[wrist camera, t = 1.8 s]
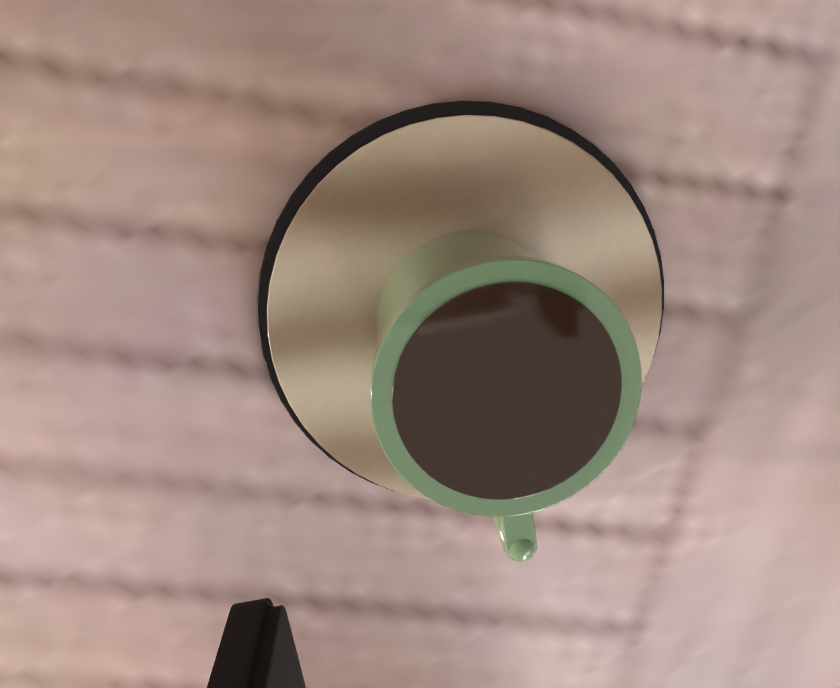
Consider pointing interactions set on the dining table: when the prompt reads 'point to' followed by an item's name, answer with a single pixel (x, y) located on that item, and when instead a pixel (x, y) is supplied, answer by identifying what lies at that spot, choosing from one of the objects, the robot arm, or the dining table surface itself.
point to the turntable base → (375, 132)
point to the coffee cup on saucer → (468, 317)
